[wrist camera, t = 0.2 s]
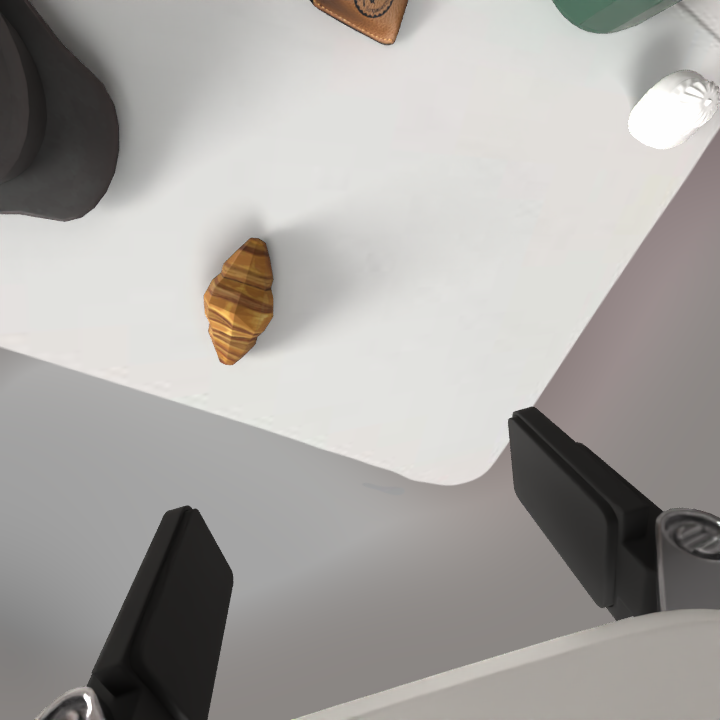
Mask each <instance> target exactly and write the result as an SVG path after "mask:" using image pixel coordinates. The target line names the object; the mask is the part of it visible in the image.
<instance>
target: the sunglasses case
mask: <svg viewBox="0 0 720 720" xmlns="http://www.w3.org/2000/svg"><path fill="white" fill-rule="evenodd" d="M310 1H311V2H312V4H313V5H314V6H315V7H317V8H318V9H319V10H321V11H323V12H324V13H326V14H328V15H329V16H331V17H333V18H334V19H336V20H338V21H339V22H341V23H343V24H345V25H347V26H349V27H350V28H352V29H354V30H356V31H358V32H360V33H362V34H364V35H366V36H368V37H370V38H371V39H373V40H375V41H377V42H379V43H381V44H384V45H391V44H393V43H394V42H395V40H396V37H397V34H398V32H399V29H400V26H401V22H402V19H403V15H404V12H405V8H406V6H407V3H408V0H310Z"/></svg>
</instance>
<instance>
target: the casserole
mask: <svg viewBox="0 0 720 720" xmlns="http://www.w3.org/2000/svg"><path fill="white" fill-rule="evenodd" d="M118 153H119V125H118V121H117V116H116V111H115V106H114V104H113V102H112V100H111V98H110V96H109V94H108V92H107V90H106V88H105V86H104V84H103V83H102V82H101V81H100V80H99V79H98V78H97V77H96V76H95V75H94V74H93V73H92V72H91V71H90V70H89V69H88V68H86V67H85V66H84V65H83V64H82V63H81V62H80V61H79V60H78V59H77V58H76V57H75V56H74V55H73V54H72V53H71V52H70V51H69V50H68V49H67V48H66V47H65V46H64V45H63V44H62V43H61V42H60V41H59V39H58V38H57V37H56V35H55V34H54V33H53V32H52V30H51V29H50V28H49V26H48V25H47V24H46V23H45V21H44V20H43V19H42V17H41V16H40V15H39V14H38V12H37V11H36V10H35V8H34V7H33V6H32V5H31V3H30V2H29V1H28V0H0V214H21V215H27V216H33V217H39V218H45V219H52V220H58V221H64V222H66V221H70V220H74V219H78V218H82V217H83V216H84V215H85V214H87V213H88V212H89V211H91V210H92V209H93V208H95V206H96V205H97V204H98V202H99V201H100V200H101V198H102V197H103V196H104V194H105V193H106V192H107V189H108V187H109V185H110V183H111V180H112V178H113V176H114V173H115V169H116V164H117V158H118Z"/></svg>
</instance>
